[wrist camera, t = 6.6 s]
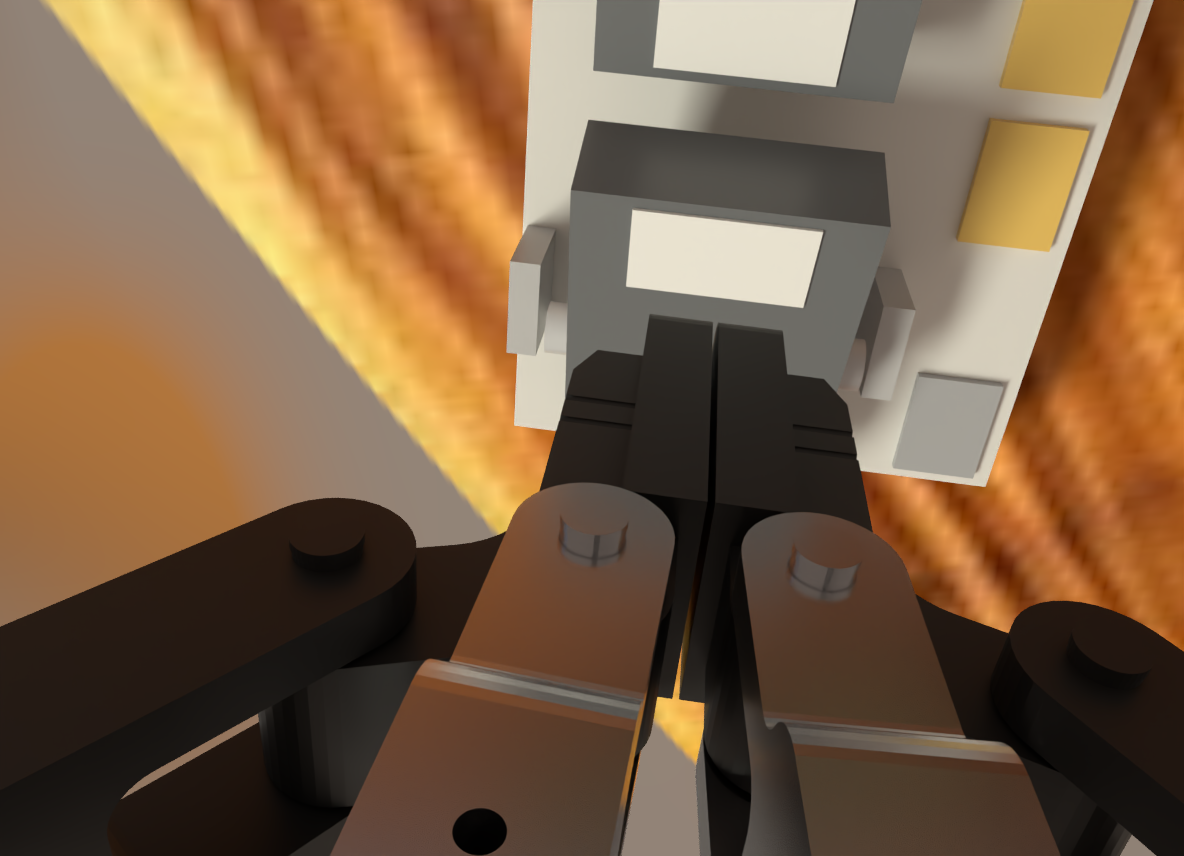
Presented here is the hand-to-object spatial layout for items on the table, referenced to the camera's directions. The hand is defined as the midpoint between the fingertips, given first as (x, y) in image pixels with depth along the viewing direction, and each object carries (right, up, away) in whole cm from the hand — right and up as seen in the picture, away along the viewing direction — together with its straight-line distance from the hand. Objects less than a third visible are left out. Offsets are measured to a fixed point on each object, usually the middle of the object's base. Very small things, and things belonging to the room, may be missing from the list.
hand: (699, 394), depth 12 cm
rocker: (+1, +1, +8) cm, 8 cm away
